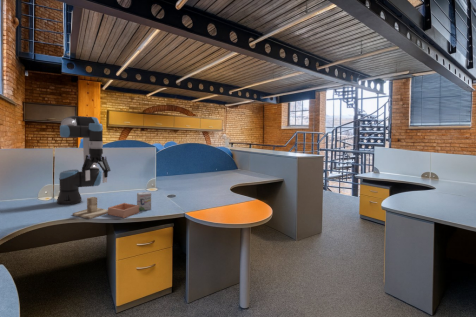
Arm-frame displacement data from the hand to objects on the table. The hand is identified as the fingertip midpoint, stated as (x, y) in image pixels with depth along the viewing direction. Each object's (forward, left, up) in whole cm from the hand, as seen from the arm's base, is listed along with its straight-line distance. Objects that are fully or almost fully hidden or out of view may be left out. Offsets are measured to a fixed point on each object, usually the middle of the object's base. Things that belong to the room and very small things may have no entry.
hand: (96, 181), depth 162 cm
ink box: (+19, +22, -21) cm, 36 cm away
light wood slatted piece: (-1, -2, -20) cm, 21 cm away
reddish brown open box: (+15, +8, -21) cm, 27 cm away
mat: (-1, -2, -21) cm, 21 cm away
